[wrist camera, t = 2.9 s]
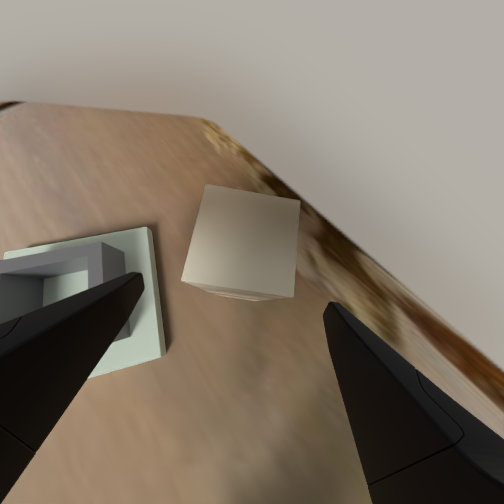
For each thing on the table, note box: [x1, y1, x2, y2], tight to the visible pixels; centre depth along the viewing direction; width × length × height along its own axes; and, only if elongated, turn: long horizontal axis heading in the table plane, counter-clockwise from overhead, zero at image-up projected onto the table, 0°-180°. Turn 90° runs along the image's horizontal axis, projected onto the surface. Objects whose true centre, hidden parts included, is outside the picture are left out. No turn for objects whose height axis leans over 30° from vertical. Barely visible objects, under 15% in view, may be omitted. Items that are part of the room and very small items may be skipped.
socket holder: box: [0, 227, 166, 379], centre depth 14 cm, size 12×12×4 cm
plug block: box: [181, 184, 300, 301], centre depth 13 cm, size 4×4×12 cm
